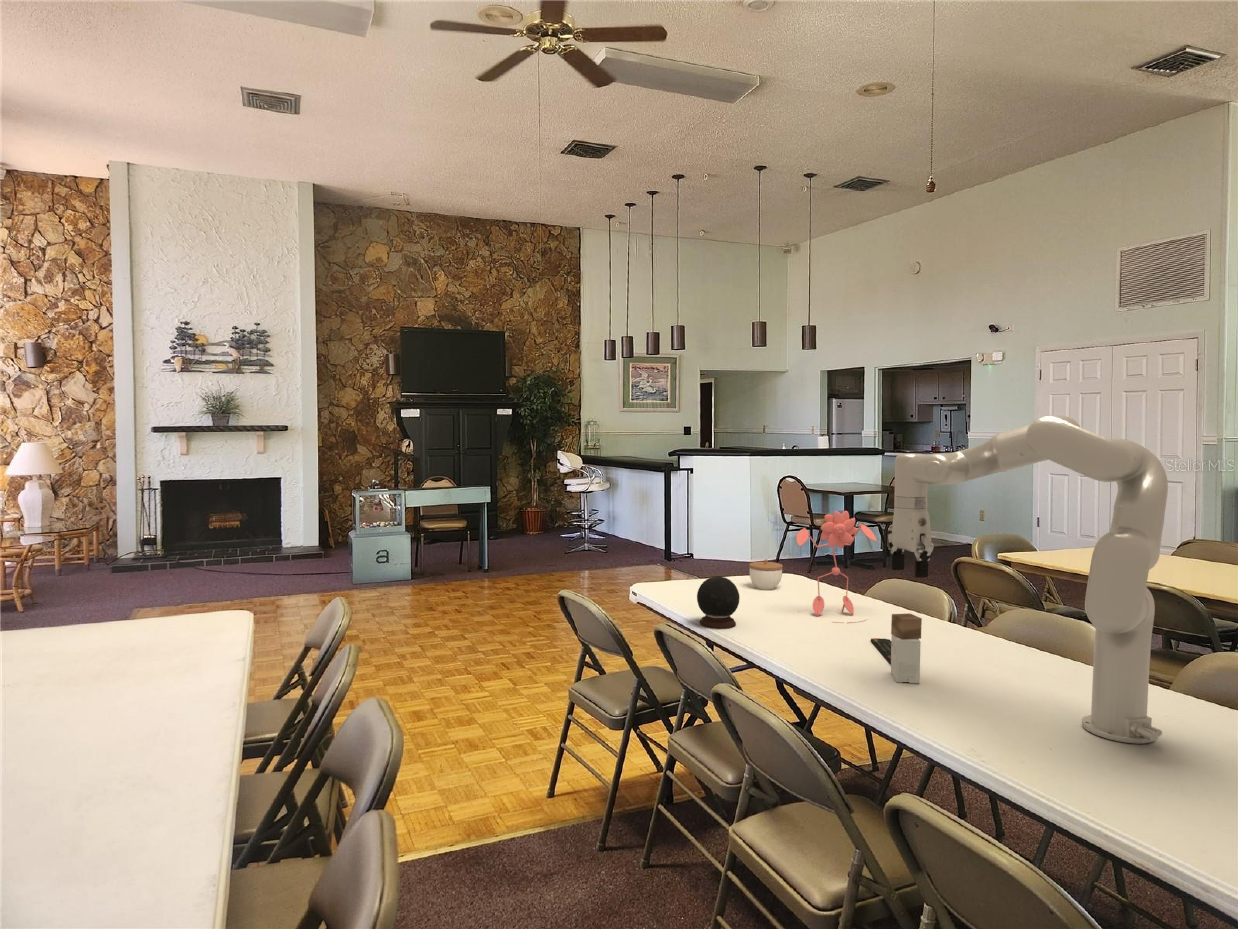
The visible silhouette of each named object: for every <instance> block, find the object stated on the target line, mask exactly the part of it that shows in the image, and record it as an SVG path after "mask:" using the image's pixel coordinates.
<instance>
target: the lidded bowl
mask: <svg viewBox="0 0 1238 929" xmlns="http://www.w3.org/2000/svg"><path fill="white" fill-rule="evenodd" d="M783 567H784V566H783V564H782V563H778V562H774V561H773V562H772V561H769V560H768V559H767V558H766V559H765V558H764V561H753V562H749V564H748V568H749V578H750V581H751V583H752V584H753V585H754V586H755V588H756V589H758V590H764V591H773V590H775V589H776V588H777V586H779V584H780V582H781V581H782V577H783V576H782V575H783Z"/></svg>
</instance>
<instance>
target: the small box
mask: <svg viewBox="0 0 1238 929" xmlns="http://www.w3.org/2000/svg"><path fill="white" fill-rule="evenodd" d="M890 640H891V665H890V673H891V675H892V677H893V679H894V681H895V683H902V682H909V683H908V684H918V683H919V684H920V680H921V679H920V677H921V642H922V641H921V639H903V640H902V639H900V638H898V637H896V636H894V635H892V634H891V639H890Z"/></svg>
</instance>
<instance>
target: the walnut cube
mask: <svg viewBox="0 0 1238 929" xmlns="http://www.w3.org/2000/svg"><path fill="white" fill-rule="evenodd" d="M922 620H923V619H922V618H921V617H919V616H917V615H914V614H912V613H891V628H890V629H891V630H890V634H891V636H892V635H894V636H896V637H898V638H900V639H902V640H903V639H919V640H921V639H922V622H923V621H922Z"/></svg>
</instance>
